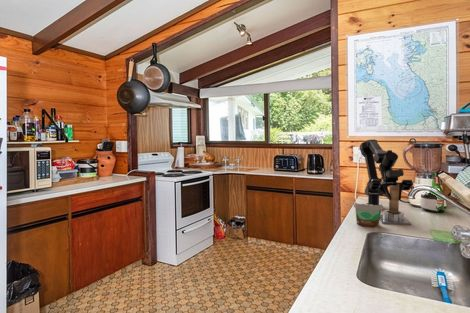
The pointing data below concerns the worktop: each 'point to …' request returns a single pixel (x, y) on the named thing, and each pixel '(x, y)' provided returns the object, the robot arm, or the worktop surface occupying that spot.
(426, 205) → the spread jar
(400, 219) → the bracket
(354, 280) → the worktop surface
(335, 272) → the worktop surface
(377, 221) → the food container
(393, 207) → the brown wooden cylinder
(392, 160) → the robot arm
